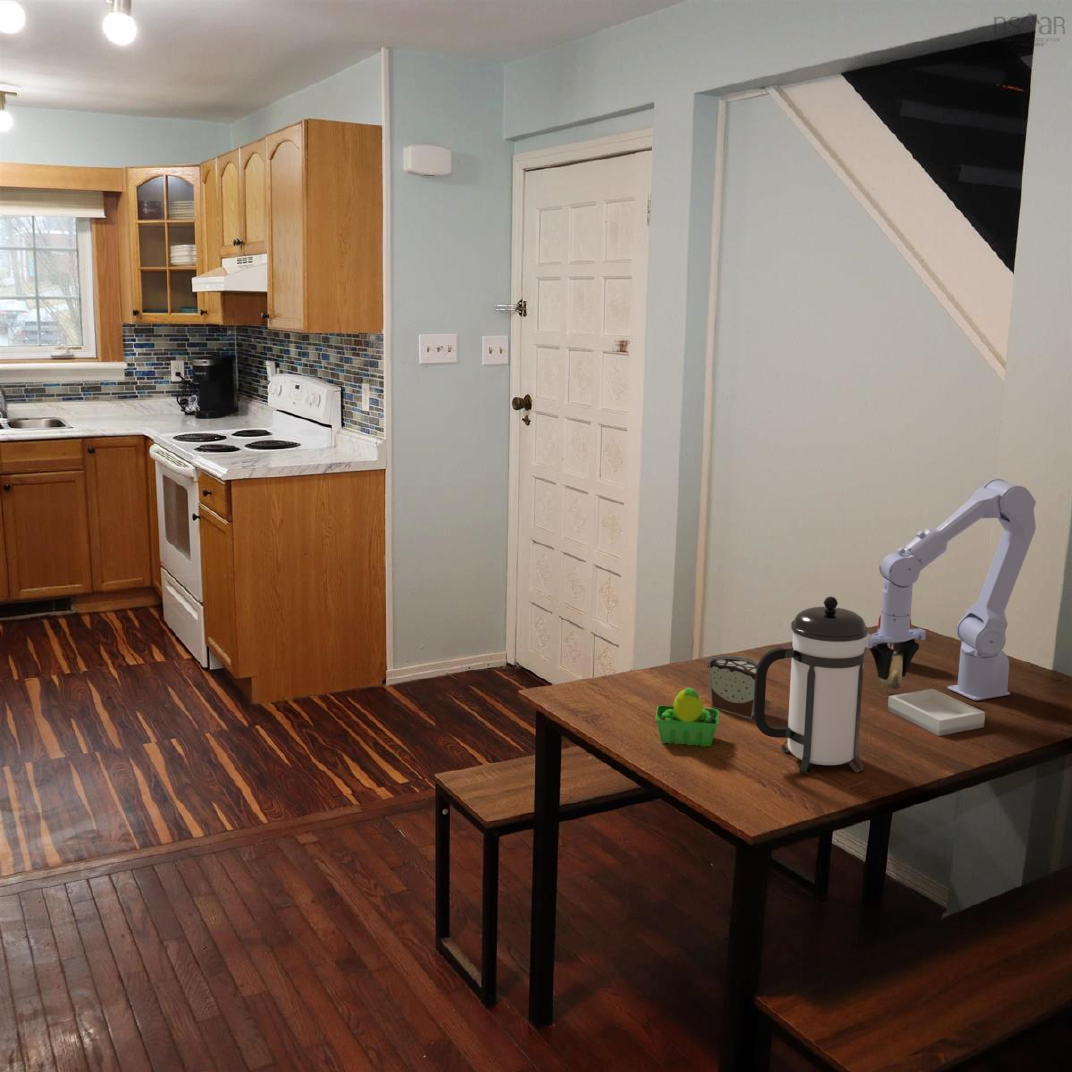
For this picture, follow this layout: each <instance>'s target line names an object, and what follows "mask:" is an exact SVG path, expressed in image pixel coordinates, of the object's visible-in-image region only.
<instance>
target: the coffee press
mask: <svg viewBox="0 0 1072 1072" xmlns="http://www.w3.org/2000/svg"><path fill="white" fill-rule="evenodd" d="M823 605H824V606H814V607H809V608H805V609H803V610H801V611H800V612H799V613H797V614H796V616H795V617H794V619H793V620H792V621H791V622H790V623H791V624H790V630H791V632H792V641H791V643H790V648H784V647H778V648H774V649H772V650H769V651H767V652H766V653H764V654H763V656H762V657H761V658H760V659H759V661H758V662H759V663H758V665H757V669H756V674H755V687H754V718H753V720H754V723H755V725H756V728H757V729H758V730H759V731H760V732H761V733H762V734H763V735H765V736H767V737H771V738H775V739H776V738H778V739H781V738H782V739H783V738H787V740H785V742H784V743H783V744H782V745H781V750H782V752H783V753H785V754H788V753H791V754H792V755H793V756H794V757H796V758H797V759H799V760H801V762H800V766H799V769H798V772H799V773H800V774H803V775H806V776H809V774H810V773H811V770H812V768H813V766H814V765H819V766H820V765H821V766H838V765H844V764H847V765H848V766H849V767H850V769H852V771H853V772H854V773H856V774H857V773H860V772H861V771H862V770H864V763H863V762H862V759H861V758H860V756H859V741H860V740H859V739H860V723H861V710H862V697H863V696H862V695H863V693H862V692H863V678H864V663H865V662H866V654H867V653H866V652H867V649H866V647H865V642H866V641H872V640H873V639H872V637H871V634H870V632H869V628H868V626H867V625H866V622H865V620H864V619H863V618H862V617H861V615H859V614H858V613H856V612H855V611H852V610H850V609H845V608H842V607H837V606H838V605H839V602H838V600H837V598H836V597H834V596H827V597H826V598H825V599H824V601H823ZM790 658H791V666H790V683H789V684H790V685H789V705H788V719H787V720H788V721H787V723H786V726H783V727H782V726H771V725H769V724H768V723H767V721H766V719H765V718H766V717H765V715H766V714H765V713H766V711H765V710H766V691H767V675H768V670H769V669H770V667H771V665H772V664H774V662H777V661H779V660H784V659H790ZM786 745H787V747H786ZM853 760H855V762H856V763H857V765H855V763H854V762H853ZM857 766H858V767H857Z"/></svg>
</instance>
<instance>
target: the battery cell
mask: <svg viewBox="0 0 1072 1072" xmlns="http://www.w3.org/2000/svg"><path fill="white" fill-rule="evenodd" d="M892 650H894V653H893V655H892V658H891V661H890V666H889V675H888V679H887V680H884V679H881V678H880V686H881V687H882V688H884V689H888V690H889V689H890V690H897V689H898V690H899V689H901V688H902V681H903V677H902V669H903V653H902V652H900V651H897V650H895V649H892Z"/></svg>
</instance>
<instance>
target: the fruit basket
mask: <svg viewBox="0 0 1072 1072" xmlns="http://www.w3.org/2000/svg"><path fill="white" fill-rule="evenodd" d="M719 715H720V710H718V709H715V708H705V707H704V702H703V700H702V698H701V697H700V695H699V693H697V691H696V690H695V689H694V688H692V687H685V688H684V689H683V690H680V691H679V692H678V694H677V695H676V697H675V698H674V700H673V705H658V706H657V707H656V715H655V718H654V719H655V721H656V722H655V723H656V724H657V727H658V732H659V737H660V742H661V743H662V742H663V743H662V744H665V743H672V744H673V743H675V744H674V745H678V744H687V746H691V745H696V746H695V747H705V746H710V747H711V746H712V744H713V741H714V737H715V733H716V731H717V729H718V727H719V721H720V720H719V719H720V716H719ZM698 745H700V746H698Z"/></svg>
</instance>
